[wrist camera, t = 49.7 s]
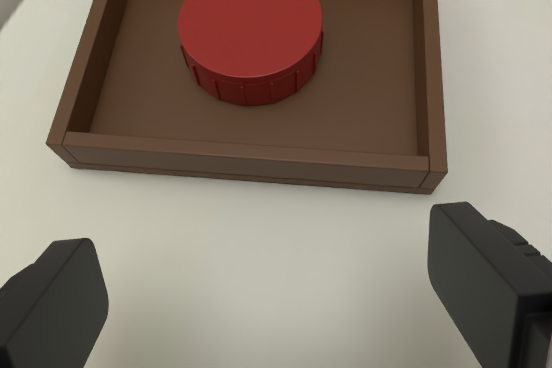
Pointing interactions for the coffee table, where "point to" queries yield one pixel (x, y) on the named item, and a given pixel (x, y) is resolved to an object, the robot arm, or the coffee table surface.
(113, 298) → the coffee table surface
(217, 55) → the lid
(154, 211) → the coffee table surface
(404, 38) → the tray
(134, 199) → the coffee table surface
